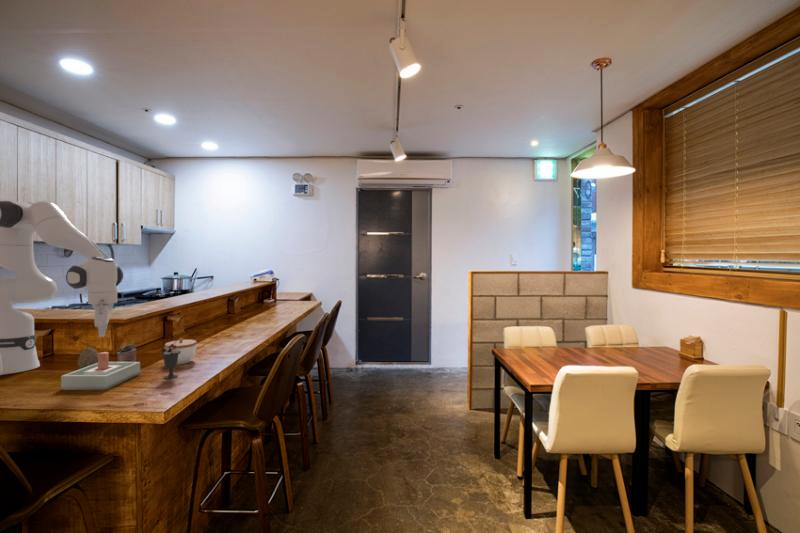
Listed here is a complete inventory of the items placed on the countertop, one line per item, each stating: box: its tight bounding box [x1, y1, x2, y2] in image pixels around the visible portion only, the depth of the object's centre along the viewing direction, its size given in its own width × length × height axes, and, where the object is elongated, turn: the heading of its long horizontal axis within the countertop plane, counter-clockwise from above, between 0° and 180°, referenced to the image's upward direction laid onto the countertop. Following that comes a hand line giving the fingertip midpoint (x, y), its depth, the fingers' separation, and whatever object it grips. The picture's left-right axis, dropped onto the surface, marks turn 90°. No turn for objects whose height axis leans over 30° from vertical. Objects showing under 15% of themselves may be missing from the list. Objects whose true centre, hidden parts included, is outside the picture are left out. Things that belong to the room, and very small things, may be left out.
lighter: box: [116, 343, 138, 362], centre depth 158 cm, size 8×3×10 cm, turn 168°
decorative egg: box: [77, 346, 99, 369], centre depth 153 cm, size 7×7×10 cm
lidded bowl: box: [164, 337, 198, 365], centre depth 167 cm, size 13×13×11 cm
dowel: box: [97, 351, 109, 370], centre depth 141 cm, size 3×3×10 cm
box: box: [60, 361, 141, 391], centre depth 141 cm, size 16×18×5 cm
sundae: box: [160, 339, 180, 380], centre depth 146 cm, size 7×7×15 cm
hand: (102, 334), depth 141 cm, fingers open, 8 cm apart
